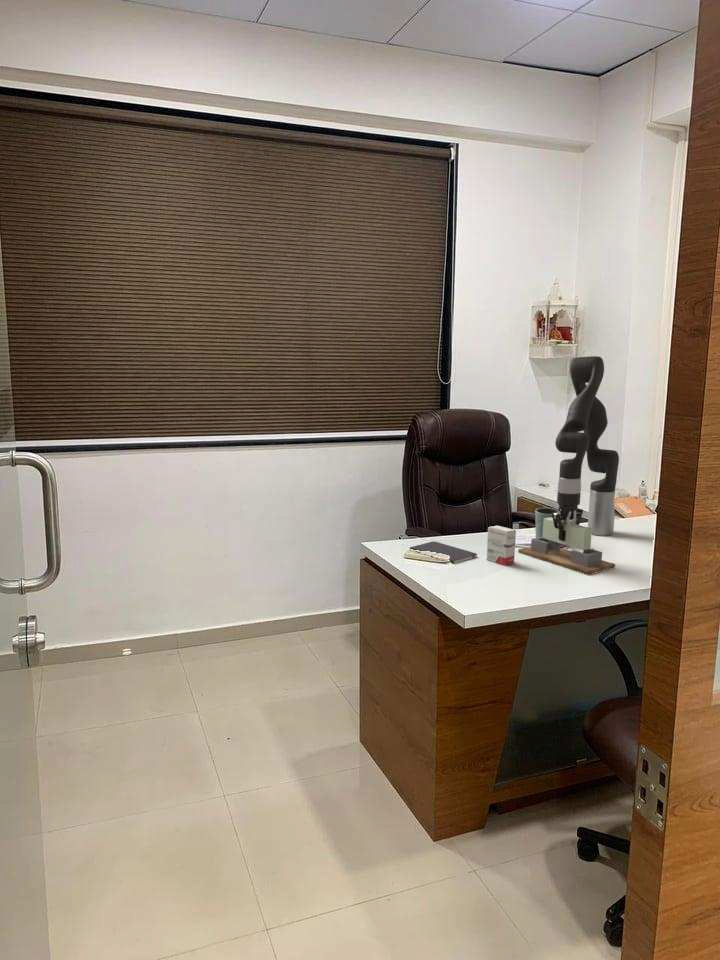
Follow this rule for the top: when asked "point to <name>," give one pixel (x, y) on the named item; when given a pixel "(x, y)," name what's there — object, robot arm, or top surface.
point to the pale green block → (568, 534)
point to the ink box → (501, 545)
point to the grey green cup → (542, 519)
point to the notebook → (446, 551)
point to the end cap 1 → (544, 545)
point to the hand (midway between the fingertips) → (566, 539)
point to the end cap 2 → (586, 557)
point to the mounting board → (565, 560)
